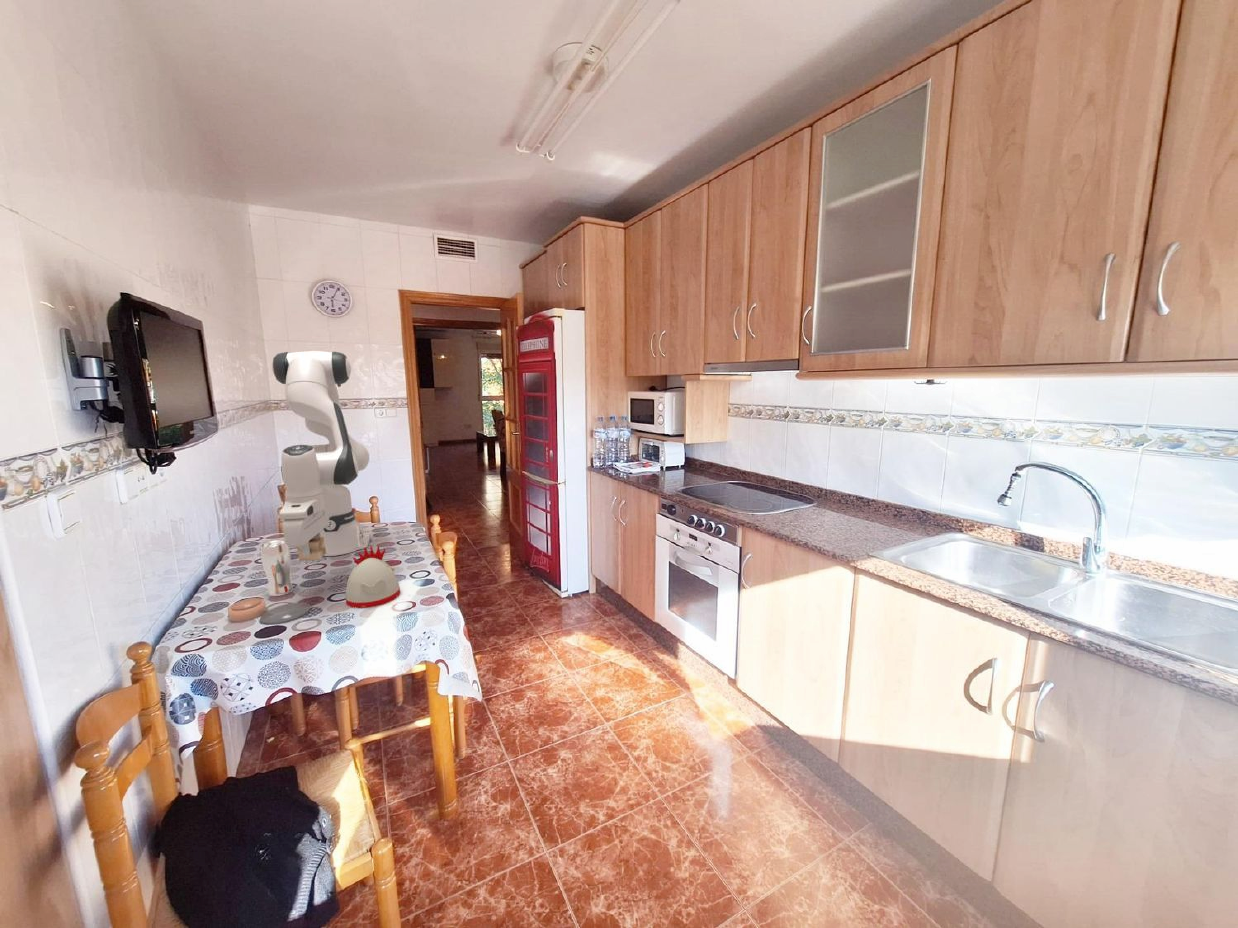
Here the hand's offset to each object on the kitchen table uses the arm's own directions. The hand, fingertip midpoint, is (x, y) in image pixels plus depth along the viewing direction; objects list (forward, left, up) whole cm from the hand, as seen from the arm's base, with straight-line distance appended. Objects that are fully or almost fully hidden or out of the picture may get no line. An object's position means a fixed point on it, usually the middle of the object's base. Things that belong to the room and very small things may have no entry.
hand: (312, 551), depth 139 cm
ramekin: (+9, -14, -14) cm, 21 cm away
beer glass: (-5, -12, -14) cm, 19 cm away
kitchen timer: (+5, +16, -14) cm, 22 cm away
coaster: (+11, -4, -14) cm, 18 cm away
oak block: (0, 0, -2) cm, 2 cm away
